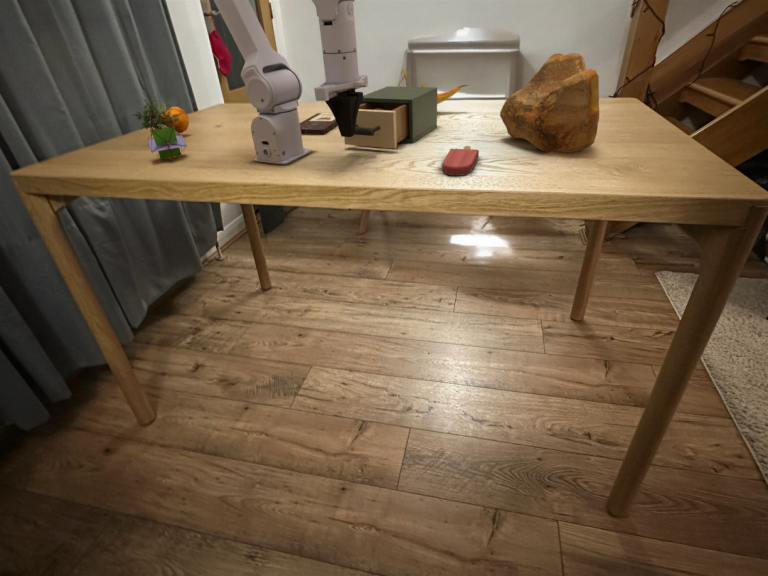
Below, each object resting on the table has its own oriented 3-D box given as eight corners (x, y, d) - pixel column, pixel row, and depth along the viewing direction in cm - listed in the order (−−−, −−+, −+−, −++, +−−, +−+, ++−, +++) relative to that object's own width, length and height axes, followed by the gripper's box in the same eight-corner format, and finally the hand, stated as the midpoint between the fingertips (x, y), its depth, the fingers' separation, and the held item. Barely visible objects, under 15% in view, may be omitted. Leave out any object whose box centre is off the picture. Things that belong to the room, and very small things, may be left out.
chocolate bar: (288, 129, 102) (317, 113, 117) (289, 133, 103) (318, 116, 117) (323, 129, 100) (348, 113, 114) (324, 134, 101) (349, 117, 115)
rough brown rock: (496, 131, 98) (496, 58, 90) (573, 123, 95) (581, 47, 87) (505, 166, 80) (506, 78, 71) (601, 158, 76) (615, 65, 68)
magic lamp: (467, 115, 110) (469, 67, 104) (397, 117, 112) (396, 70, 106) (466, 110, 115) (469, 64, 109) (400, 111, 118) (399, 67, 112)
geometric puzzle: (189, 150, 86) (176, 113, 86) (153, 157, 83) (139, 118, 83) (191, 165, 93) (179, 130, 93) (157, 171, 90) (145, 136, 90)
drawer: (385, 154, 82) (383, 117, 78) (334, 149, 86) (330, 114, 82) (420, 132, 95) (420, 98, 91) (374, 129, 99) (372, 97, 95)
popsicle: (481, 143, 82) (470, 167, 71) (481, 151, 83) (470, 176, 71) (454, 142, 84) (438, 166, 72) (453, 150, 85) (438, 175, 73)
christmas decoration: (216, 148, 117) (177, 150, 98) (173, 135, 116) (127, 135, 97) (221, 111, 113) (182, 105, 94) (177, 98, 113) (129, 90, 94)
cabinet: (412, 143, 91) (412, 99, 86) (360, 139, 96) (357, 97, 91) (436, 127, 101) (437, 87, 97) (388, 124, 106) (387, 86, 102)
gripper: (337, 56, 64) (346, 148, 72) (380, 47, 75) (384, 127, 83) (299, 57, 67) (311, 145, 75) (346, 48, 78) (352, 125, 85)
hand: (347, 136), depth 79 cm, fingers closed
